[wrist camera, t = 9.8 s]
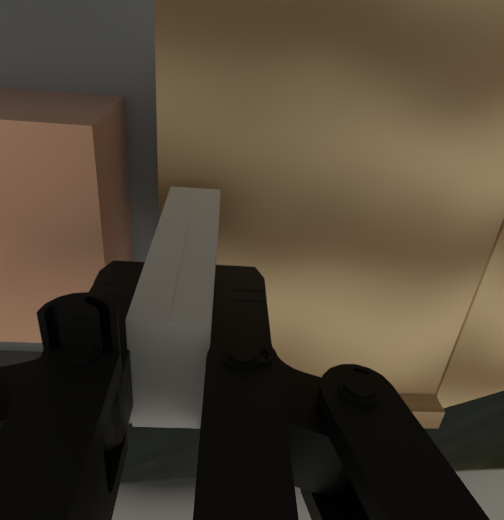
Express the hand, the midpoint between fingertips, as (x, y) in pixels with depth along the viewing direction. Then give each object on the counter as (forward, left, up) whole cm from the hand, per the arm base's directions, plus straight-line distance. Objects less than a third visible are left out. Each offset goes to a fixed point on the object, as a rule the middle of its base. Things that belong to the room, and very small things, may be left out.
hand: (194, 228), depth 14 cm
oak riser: (0, +8, -4) cm, 9 cm away
